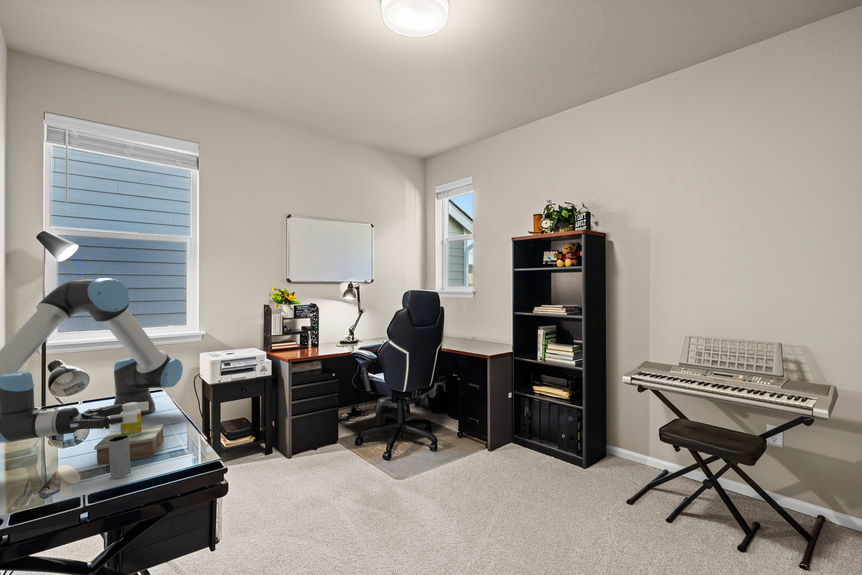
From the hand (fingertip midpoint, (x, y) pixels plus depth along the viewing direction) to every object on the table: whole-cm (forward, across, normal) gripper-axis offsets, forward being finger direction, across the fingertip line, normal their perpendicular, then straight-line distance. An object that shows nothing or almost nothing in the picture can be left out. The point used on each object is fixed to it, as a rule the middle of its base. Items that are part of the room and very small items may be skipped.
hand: (142, 411), depth 137 cm
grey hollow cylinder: (-1, +19, -13) cm, 23 cm away
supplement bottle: (-3, 0, -7) cm, 8 cm away
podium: (-3, 0, -12) cm, 13 cm away
